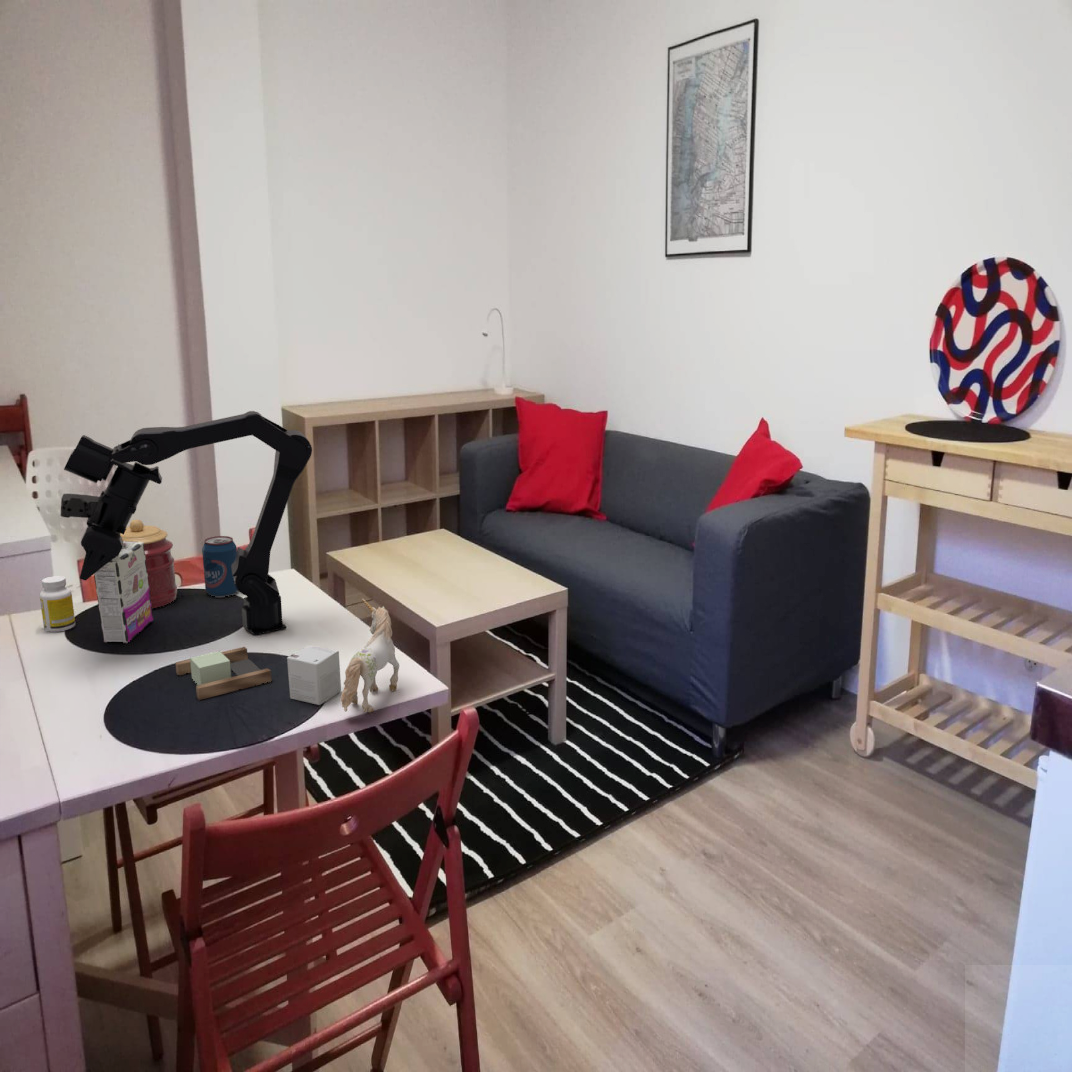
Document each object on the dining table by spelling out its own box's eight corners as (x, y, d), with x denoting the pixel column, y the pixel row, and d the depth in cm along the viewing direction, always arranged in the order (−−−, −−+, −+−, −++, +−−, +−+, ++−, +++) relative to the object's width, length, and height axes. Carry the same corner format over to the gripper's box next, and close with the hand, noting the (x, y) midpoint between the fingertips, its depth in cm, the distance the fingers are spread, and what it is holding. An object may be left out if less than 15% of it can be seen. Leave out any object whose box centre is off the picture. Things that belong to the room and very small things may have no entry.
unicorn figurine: (405, 671, 155) (404, 599, 152) (386, 724, 137) (384, 643, 133) (364, 670, 155) (361, 598, 152) (340, 723, 137) (336, 642, 133)
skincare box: (341, 691, 147) (340, 650, 145) (319, 706, 142) (316, 663, 140) (312, 684, 150) (310, 643, 148) (288, 698, 144) (286, 656, 142)
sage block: (221, 672, 154) (219, 651, 152) (231, 682, 150) (229, 660, 149) (192, 679, 151) (189, 657, 150) (201, 690, 147) (199, 668, 146)
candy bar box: (128, 619, 175) (119, 540, 170) (154, 620, 175) (145, 541, 170) (101, 643, 164) (90, 559, 159) (128, 644, 164) (118, 560, 159)
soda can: (199, 597, 189) (194, 543, 185) (216, 586, 195) (211, 534, 192) (230, 599, 188) (225, 545, 184) (245, 589, 194) (241, 536, 191)
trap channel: (245, 657, 160) (244, 646, 159) (271, 681, 150) (270, 670, 150) (176, 673, 153) (175, 662, 152) (199, 699, 143) (198, 688, 143)
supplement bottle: (82, 624, 173) (76, 576, 170) (59, 634, 168) (52, 585, 165) (60, 620, 175) (54, 573, 172) (37, 630, 170) (30, 581, 167)
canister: (96, 606, 182) (85, 523, 177) (144, 587, 194) (135, 509, 189) (145, 616, 178) (135, 531, 173) (191, 596, 189) (184, 516, 184)
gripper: (80, 463, 162) (43, 538, 164) (71, 487, 146) (30, 570, 147) (141, 489, 167) (105, 561, 169) (139, 514, 151) (98, 594, 152)
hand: (84, 571), depth 159 cm, fingers open, 9 cm apart
